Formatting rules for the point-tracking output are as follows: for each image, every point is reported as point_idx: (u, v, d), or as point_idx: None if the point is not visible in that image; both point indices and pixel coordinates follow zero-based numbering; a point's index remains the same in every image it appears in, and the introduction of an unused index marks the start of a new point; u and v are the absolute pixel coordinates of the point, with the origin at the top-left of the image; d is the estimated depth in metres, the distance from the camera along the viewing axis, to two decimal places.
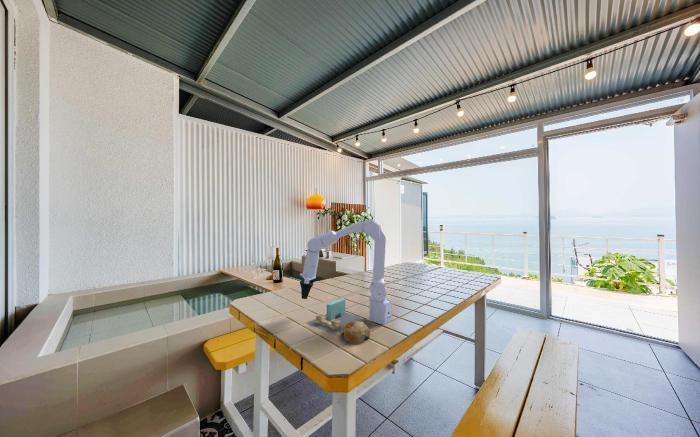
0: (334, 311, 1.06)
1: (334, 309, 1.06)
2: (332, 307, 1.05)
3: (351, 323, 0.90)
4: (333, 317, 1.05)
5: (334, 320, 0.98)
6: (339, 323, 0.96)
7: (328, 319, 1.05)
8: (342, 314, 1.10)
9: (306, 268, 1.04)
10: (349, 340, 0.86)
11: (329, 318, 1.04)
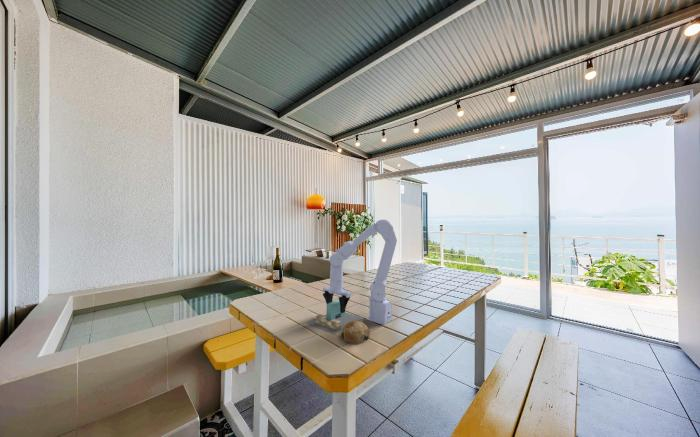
0: (334, 311, 1.06)
1: (334, 309, 1.06)
2: (332, 307, 1.05)
3: (351, 323, 0.90)
4: (333, 317, 1.05)
5: (334, 320, 0.98)
6: (339, 323, 0.96)
7: (328, 319, 1.05)
8: (342, 314, 1.10)
9: (338, 284, 1.06)
10: (349, 340, 0.86)
11: (329, 318, 1.04)
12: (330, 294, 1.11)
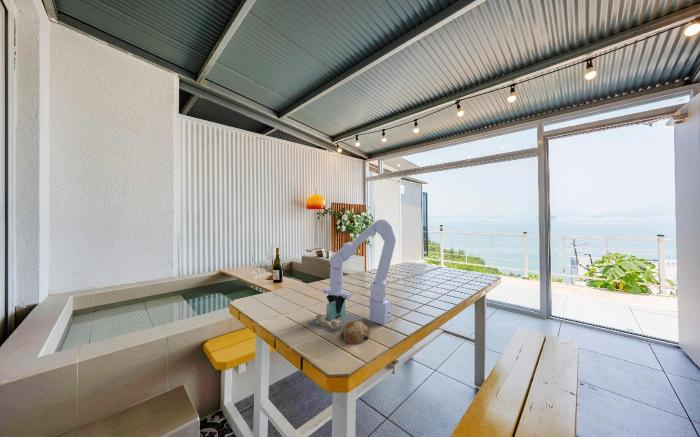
0: (334, 311, 1.06)
1: (334, 309, 1.06)
2: (332, 307, 1.05)
3: (350, 323, 0.90)
4: (333, 317, 1.05)
5: (334, 320, 0.98)
6: (339, 323, 0.96)
7: (328, 319, 1.05)
8: (342, 314, 1.10)
9: (338, 285, 1.06)
10: (348, 340, 0.86)
11: (329, 318, 1.04)
12: (334, 297, 1.10)
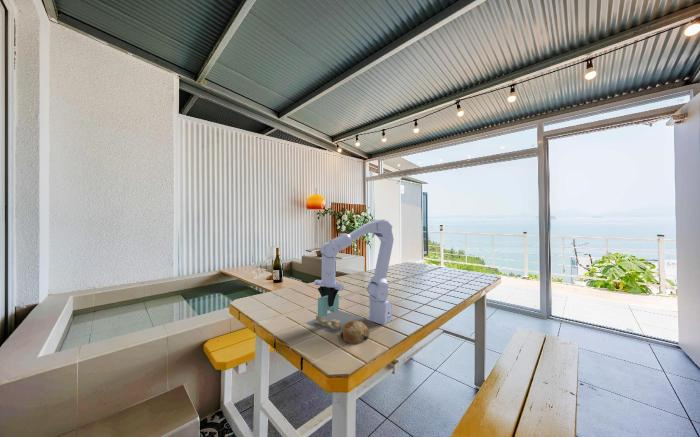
0: (326, 306, 0.98)
1: (326, 304, 0.97)
2: (324, 302, 0.96)
3: (350, 323, 0.90)
4: (325, 313, 0.97)
5: (334, 320, 0.98)
6: (339, 323, 0.96)
7: (319, 315, 0.96)
8: (335, 310, 1.02)
9: (330, 276, 0.98)
10: (348, 340, 0.86)
11: (320, 313, 0.96)
12: (326, 288, 1.01)
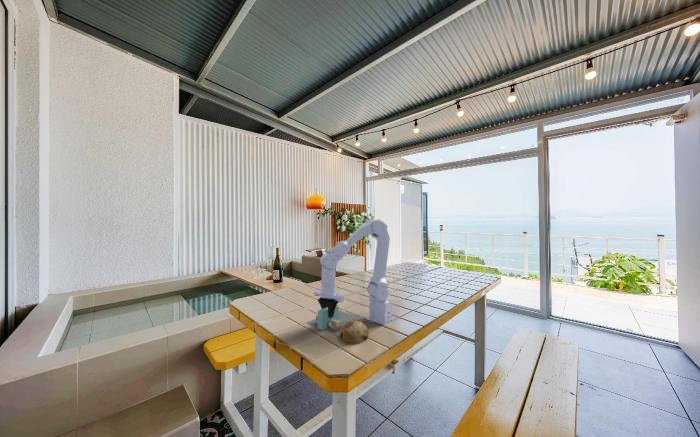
0: (326, 319, 0.98)
1: (326, 316, 0.97)
2: (324, 314, 0.96)
3: (350, 323, 0.90)
4: (325, 325, 0.97)
5: (334, 320, 0.98)
6: (339, 323, 0.96)
7: (319, 327, 0.96)
8: None
9: (330, 287, 0.98)
10: (348, 340, 0.86)
11: (320, 326, 0.96)
12: (326, 300, 1.01)
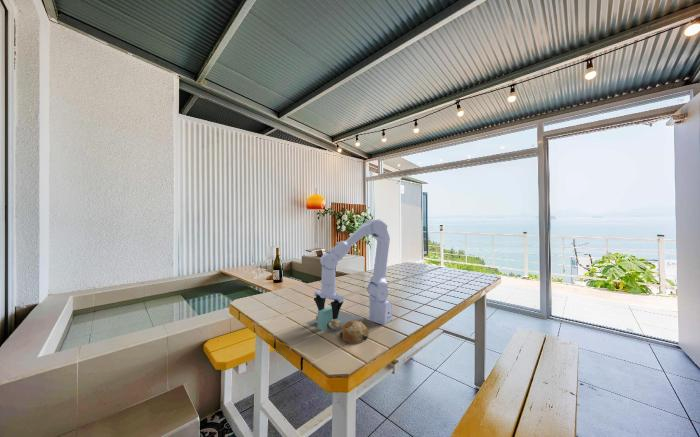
0: (326, 319, 0.98)
1: (326, 317, 0.97)
2: (324, 314, 0.96)
3: (349, 323, 0.90)
4: (325, 326, 0.97)
5: (334, 320, 0.98)
6: (339, 323, 0.96)
7: (319, 328, 0.96)
8: None
9: (330, 287, 0.98)
10: (347, 340, 0.86)
11: (320, 327, 0.96)
12: (322, 298, 1.03)
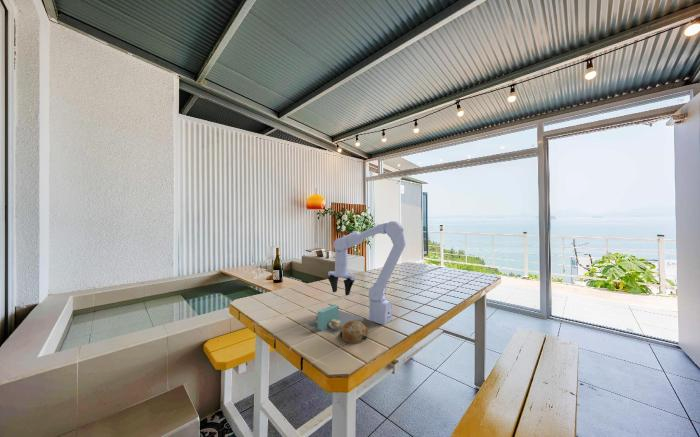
0: (326, 319, 0.98)
1: (326, 317, 0.97)
2: (324, 314, 0.96)
3: (349, 323, 0.90)
4: (325, 326, 0.97)
5: (334, 320, 0.98)
6: (339, 323, 0.96)
7: (319, 328, 0.96)
8: None
9: (343, 267, 1.10)
10: (347, 340, 0.86)
11: (320, 327, 0.96)
12: (335, 278, 1.15)
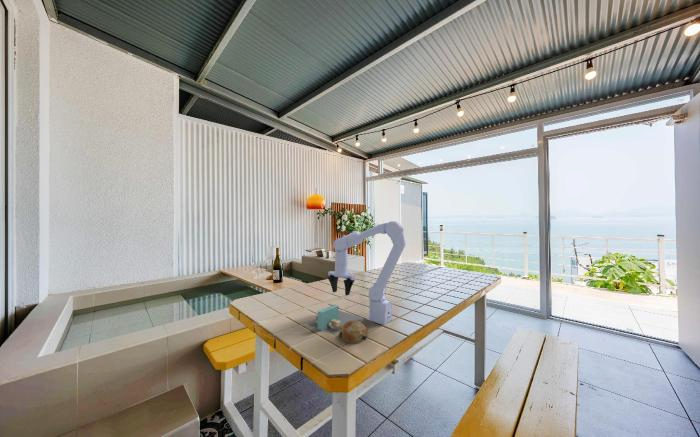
0: (326, 319, 0.98)
1: (326, 317, 0.97)
2: (324, 314, 0.96)
3: (349, 323, 0.90)
4: (325, 326, 0.97)
5: (334, 320, 0.98)
6: (339, 323, 0.96)
7: (319, 328, 0.96)
8: None
9: (343, 267, 1.10)
10: (347, 340, 0.86)
11: (320, 327, 0.96)
12: (335, 278, 1.15)
